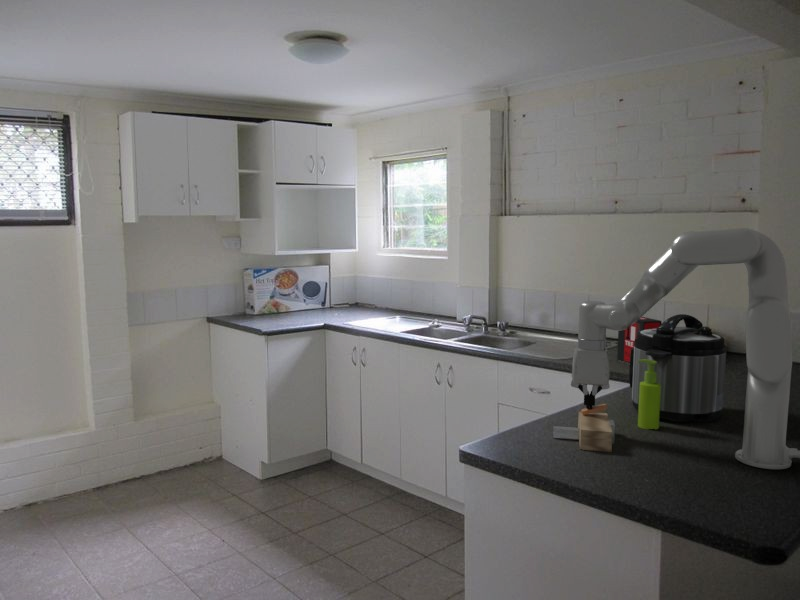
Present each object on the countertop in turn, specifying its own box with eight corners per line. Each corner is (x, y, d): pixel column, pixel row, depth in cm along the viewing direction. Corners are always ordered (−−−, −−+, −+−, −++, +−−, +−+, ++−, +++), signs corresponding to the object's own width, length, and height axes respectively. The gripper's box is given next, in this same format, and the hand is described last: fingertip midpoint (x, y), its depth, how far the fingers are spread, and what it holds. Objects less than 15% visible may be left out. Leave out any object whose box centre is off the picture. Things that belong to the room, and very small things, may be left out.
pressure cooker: (691, 399, 230) (696, 308, 226) (746, 423, 202) (753, 320, 199) (610, 402, 225) (614, 309, 221) (655, 428, 197) (660, 322, 194)
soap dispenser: (638, 421, 203) (641, 357, 201) (661, 426, 199) (664, 360, 196) (631, 426, 199) (634, 360, 196) (654, 431, 194) (658, 363, 192)
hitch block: (606, 431, 194) (607, 413, 193) (611, 451, 176) (612, 432, 176) (577, 429, 195) (578, 411, 195) (580, 449, 178) (580, 429, 177)
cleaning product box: (659, 368, 279) (661, 320, 277) (641, 369, 277) (643, 321, 275) (634, 360, 295) (636, 315, 293) (617, 361, 292) (619, 316, 290)
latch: (606, 406, 191) (605, 403, 191) (607, 409, 189) (606, 406, 189) (582, 412, 193) (581, 409, 193) (582, 415, 190) (581, 411, 190)
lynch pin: (612, 437, 187) (613, 419, 187) (614, 443, 182) (614, 425, 182) (553, 433, 191) (553, 415, 190) (553, 439, 186) (553, 421, 185)
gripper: (618, 343, 191) (615, 406, 193) (564, 341, 194) (562, 402, 196) (620, 348, 184) (617, 413, 186) (564, 345, 187) (562, 409, 189)
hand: (589, 407), depth 191 cm, fingers closed
